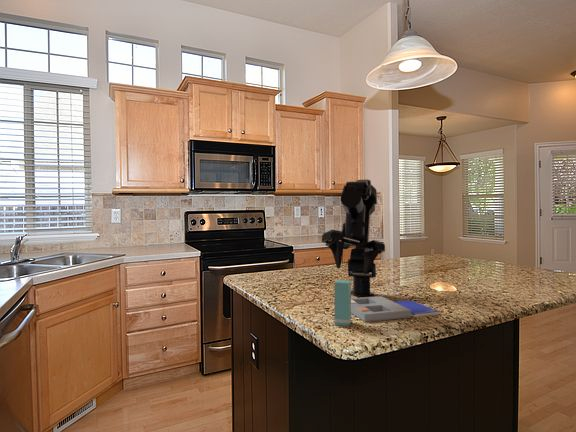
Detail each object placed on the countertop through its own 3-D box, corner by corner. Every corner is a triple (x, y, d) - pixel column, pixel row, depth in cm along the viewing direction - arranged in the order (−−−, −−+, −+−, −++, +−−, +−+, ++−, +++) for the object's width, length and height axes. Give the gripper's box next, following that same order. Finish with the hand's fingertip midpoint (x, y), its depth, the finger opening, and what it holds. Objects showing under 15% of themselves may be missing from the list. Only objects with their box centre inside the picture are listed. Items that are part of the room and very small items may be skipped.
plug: (337, 320, 97) (337, 279, 97) (351, 322, 96) (351, 280, 95) (334, 325, 93) (334, 282, 93) (348, 326, 92) (348, 283, 92)
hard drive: (439, 310, 102) (411, 299, 114) (414, 313, 100) (389, 302, 112) (439, 316, 102) (411, 304, 114) (414, 318, 100) (389, 307, 112)
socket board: (340, 305, 111) (340, 298, 111) (381, 302, 115) (381, 295, 115) (364, 321, 96) (364, 313, 96) (411, 317, 99) (411, 309, 99)
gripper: (364, 232, 120) (362, 280, 114) (315, 219, 113) (310, 269, 108) (386, 224, 110) (385, 275, 105) (333, 209, 103) (329, 263, 98)
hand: (352, 271), depth 104 cm, fingers open, 9 cm apart
